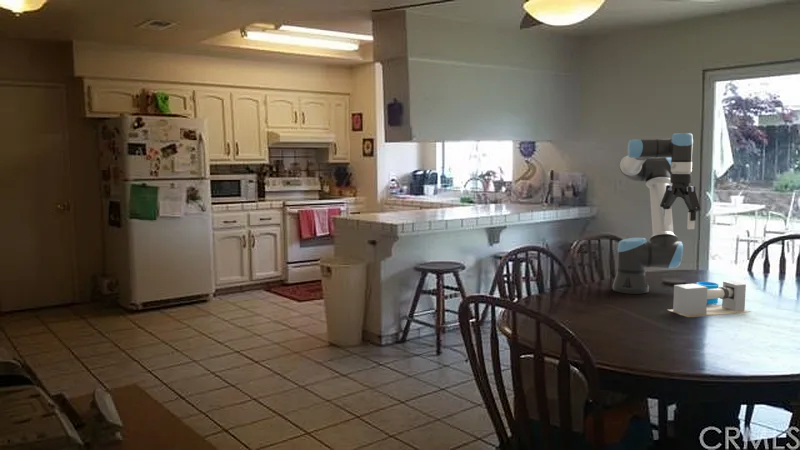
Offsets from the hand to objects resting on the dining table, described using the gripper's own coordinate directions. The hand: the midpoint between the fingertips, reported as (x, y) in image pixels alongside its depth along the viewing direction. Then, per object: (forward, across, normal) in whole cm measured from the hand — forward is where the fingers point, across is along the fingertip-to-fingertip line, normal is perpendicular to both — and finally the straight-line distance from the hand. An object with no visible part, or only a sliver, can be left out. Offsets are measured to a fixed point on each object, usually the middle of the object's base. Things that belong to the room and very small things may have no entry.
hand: (678, 227), depth 251 cm
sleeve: (+30, +14, -4) cm, 34 cm away
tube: (+26, +14, +7) cm, 30 cm away
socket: (+30, +14, +14) cm, 37 cm away
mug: (+32, -1, +16) cm, 36 cm away
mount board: (+31, +14, +4) cm, 35 cm away
